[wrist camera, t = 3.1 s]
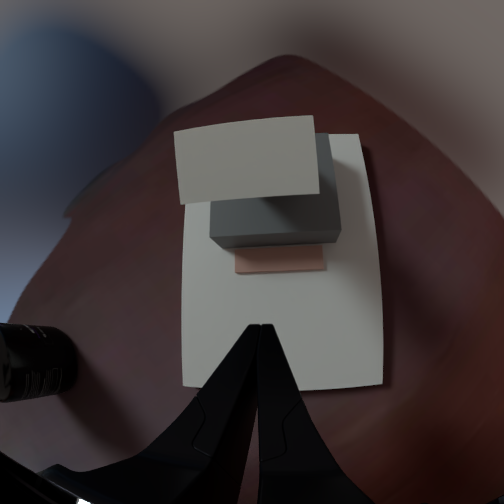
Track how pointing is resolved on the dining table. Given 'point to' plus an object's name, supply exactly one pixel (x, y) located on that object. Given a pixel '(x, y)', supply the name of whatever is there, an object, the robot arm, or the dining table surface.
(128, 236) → the dining table surface
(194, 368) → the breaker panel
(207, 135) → the breaker lever
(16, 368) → the supplement bottle
